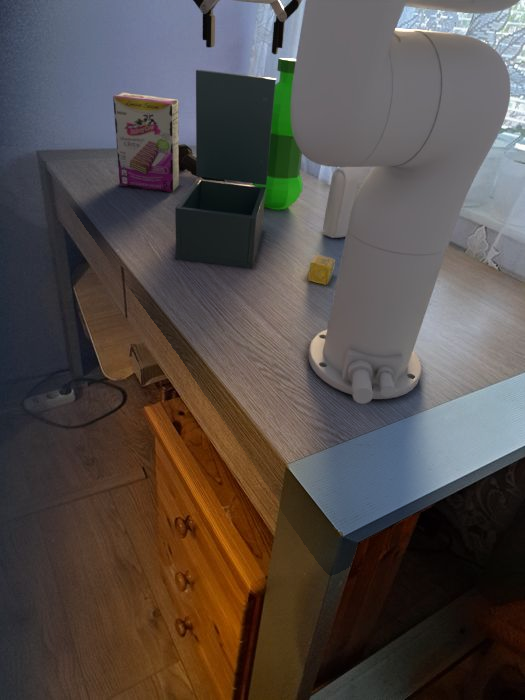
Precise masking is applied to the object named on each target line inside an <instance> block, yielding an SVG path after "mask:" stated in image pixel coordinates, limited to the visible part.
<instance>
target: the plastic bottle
mask: <svg viewBox="0 0 525 700" xmlns="http://www.w3.org/2000/svg"><path fill="white" fill-rule="evenodd" d="M295 63H296V58H290V57H289V58H288V57H278V59H277V69H276V70H277V71H278V72H279V80H278V82H276V83H275V94H274V106H273V117H272V129H271V140H270V151H269V163H268V174H267V184H266V185H262V184H254V183H251V185H253V186H261V187H266V195H265V205H264V208H267V209H270V210H279V211H282V210H286V209H288V208H289V207H290V206H292V205H293V204H295V203H296V202H297V201H298V199H299V197H300V196H301V193H302V191H303V187H304V182H303V179H302V176H301V173H300V172H301V166H302V158H303V154H302V152H301V151H300V149H299V148H298V146H297V144H296V142H295V139H294V136H293V131H292V126H291V92H292V83H293V77H294V70H295Z"/></svg>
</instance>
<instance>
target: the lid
mask: <svg viewBox="0 0 525 700" xmlns="http://www.w3.org/2000/svg"><path fill="white" fill-rule="evenodd" d="M276 81H277V78H275V77H266V76H258V75H257V76H256V75H249V74H240V73H231V72H222V71H212V70H203V69H196V70H195V149H196V150H195V152H196V153H195V157H196V176H195V177H196V178H201V177H204V178H212V179H220V180H225V181H229V182H238V183H247V184H252V183H254V184H262V185H266V184H267V174H268V163H269V151H270V140H271V129H272V117H273V106H274V94H275V85H276V84H277V82H276Z"/></svg>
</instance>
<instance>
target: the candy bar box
mask: <svg viewBox="0 0 525 700" xmlns="http://www.w3.org/2000/svg"><path fill="white" fill-rule="evenodd" d="M112 100H113V101H112V102H113V114H114V128H115V139H116V153H117V166H118V178H119V179H118V180H119V186H120V187H121V186H122V187H130V188H137V189H143V190H144V189H145V190H151V191H152V190H153V191H159V192H167V193H174V192H175V191H176V189H177V188H178V187H179V185H180V173H179V172H180V171H179V147H178V145H180V144H179V143H180V142H179V100H178V99H176V98H175V99H174V98H169V97H168V98H167V97H160V96H154V95H153V96H152V95H146V94H145V95H144V94H137V93H129V92H120V93H117V94H115V95H113V97H112Z"/></svg>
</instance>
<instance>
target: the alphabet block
mask: <svg viewBox="0 0 525 700" xmlns="http://www.w3.org/2000/svg"><path fill="white" fill-rule="evenodd" d="M335 264H336V259H335V258H332V257H329V256H325V255H321V254H315V255H314V257H313V259H312V260H311V261H310V265H309V271H308V276H307V281H310V282H313V283H317V284H320V285H324V286H327V285H328V284H329V283H330V280H331V278H332V277H333V274H334V273H333V272H334V269H335Z"/></svg>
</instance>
